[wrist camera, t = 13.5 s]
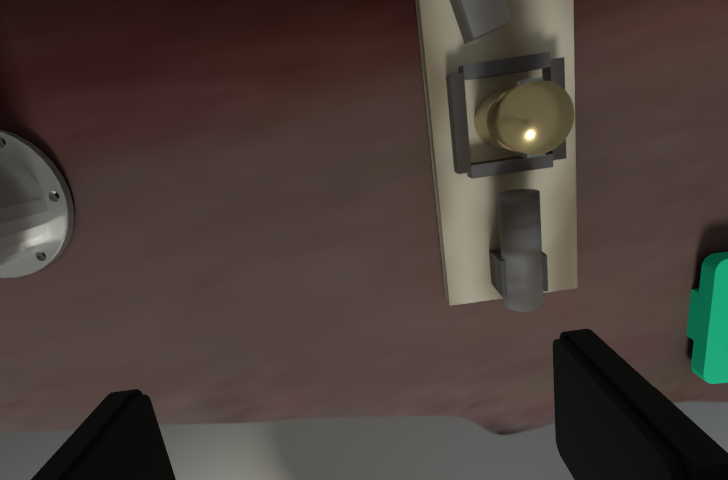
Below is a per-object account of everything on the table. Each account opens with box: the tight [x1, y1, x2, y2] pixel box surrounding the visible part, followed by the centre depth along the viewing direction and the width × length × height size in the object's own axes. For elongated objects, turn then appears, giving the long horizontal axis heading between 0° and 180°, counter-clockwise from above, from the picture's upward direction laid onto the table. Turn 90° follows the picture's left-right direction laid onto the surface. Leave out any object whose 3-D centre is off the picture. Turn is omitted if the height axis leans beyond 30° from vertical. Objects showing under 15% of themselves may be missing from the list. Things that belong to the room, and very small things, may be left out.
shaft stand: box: [415, 0, 578, 312], centre depth 33 cm, size 11×30×6 cm, turn 8°
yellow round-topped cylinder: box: [474, 77, 574, 158], centre depth 30 cm, size 5×4×7 cm
